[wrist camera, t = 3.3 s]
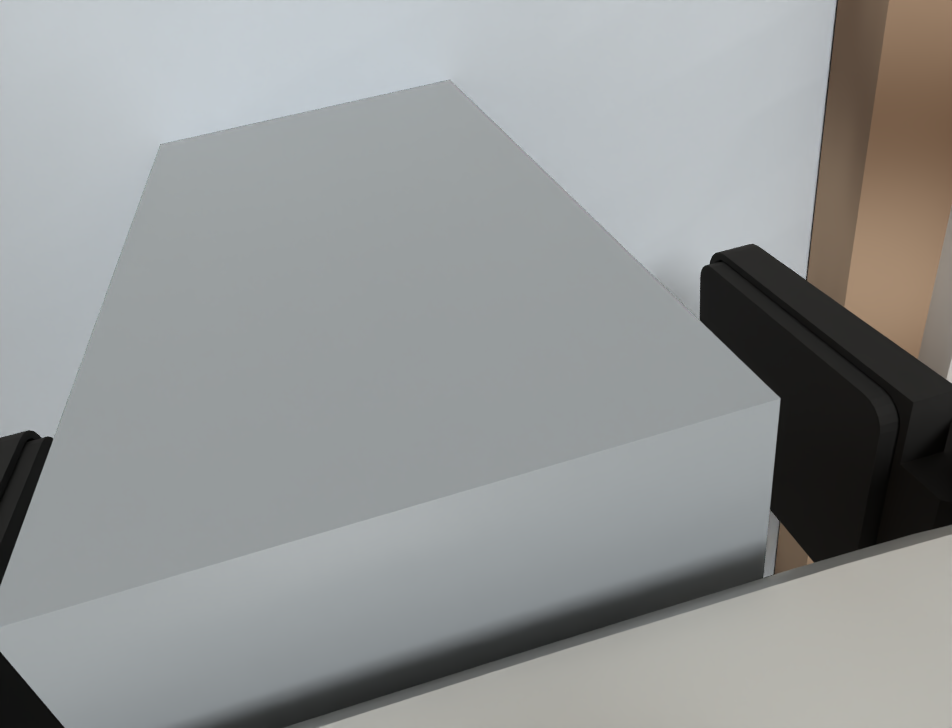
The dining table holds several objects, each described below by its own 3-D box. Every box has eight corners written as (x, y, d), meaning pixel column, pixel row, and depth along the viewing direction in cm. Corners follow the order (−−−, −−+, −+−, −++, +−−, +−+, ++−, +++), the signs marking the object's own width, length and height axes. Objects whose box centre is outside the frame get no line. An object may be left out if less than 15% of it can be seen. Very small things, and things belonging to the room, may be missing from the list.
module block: (160, 143, 11) (-18, 631, 4) (462, 76, 12) (812, 389, 4) (294, 483, 15) (334, 1046, 8) (516, 420, 16) (748, 889, 8)
